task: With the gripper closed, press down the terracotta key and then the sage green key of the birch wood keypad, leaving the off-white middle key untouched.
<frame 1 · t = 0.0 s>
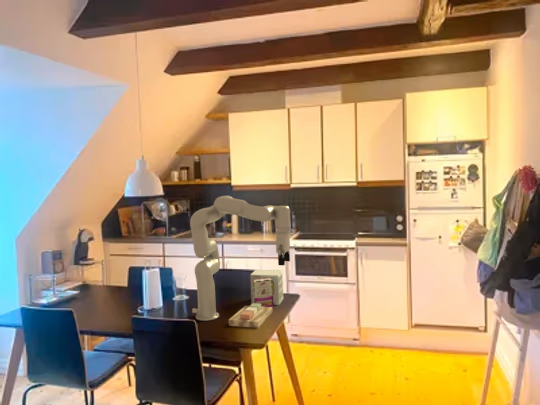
hand: (284, 263, 227), 31 cm above the table, tool pointing down, fingers open, 9 cm apart
candy bar box: (263, 307, 256), on the table
supplement box: (267, 302, 267), on the table
terracotta key: (246, 315, 231), point 4 cm above the table, slide at 0.0 cm
keypad base: (251, 318, 238), on the table
sage key: (255, 307, 244), point 4 cm above the table, slide at 0.0 cm
offwhite key: (251, 311, 237), point 4 cm above the table, slide at 0.0 cm
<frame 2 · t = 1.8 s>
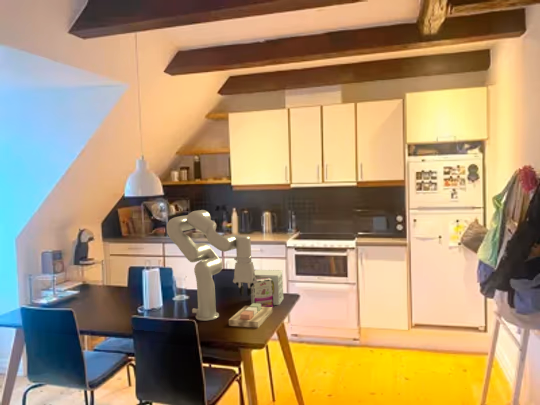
hand: (245, 294, 230), 15 cm above the table, tool pointing down, fingers open, 3 cm apart
nothing on the table moved.
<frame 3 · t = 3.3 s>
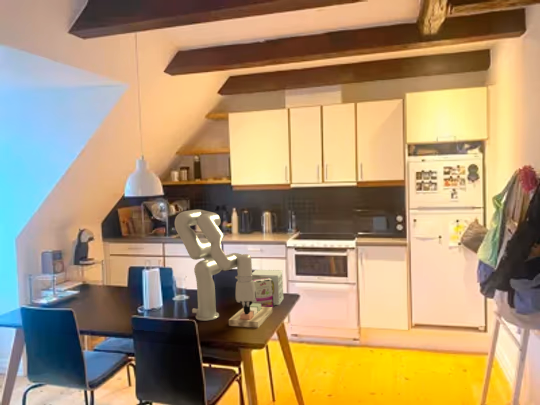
hand: (247, 313, 230), 5 cm above the table, tool pointing down, fingers closed
terracotta key: (246, 316, 231), point 4 cm above the table, slide at 0.2 cm, touching gripper
everything else where it was.
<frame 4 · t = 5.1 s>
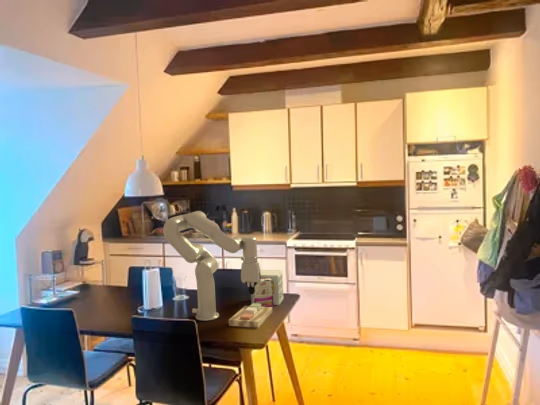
hand: (252, 293, 238), 13 cm above the table, tool pointing down, fingers closed
terracotta key: (246, 318, 231), point 3 cm above the table, slide at 1.2 cm
everything else where it was.
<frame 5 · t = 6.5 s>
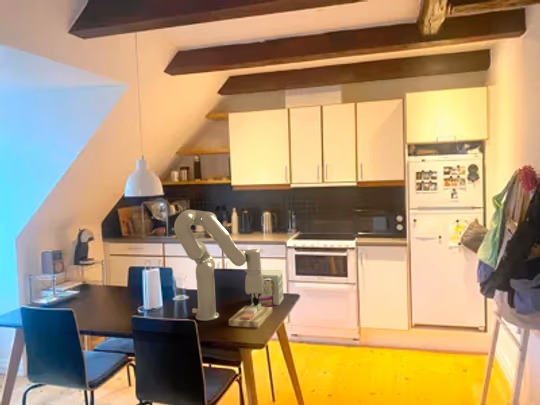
hand: (256, 304, 244), 5 cm above the table, tool pointing down, fingers closed
sage key: (255, 307, 244), point 4 cm above the table, slide at 0.1 cm, touching gripper
everything else where it was.
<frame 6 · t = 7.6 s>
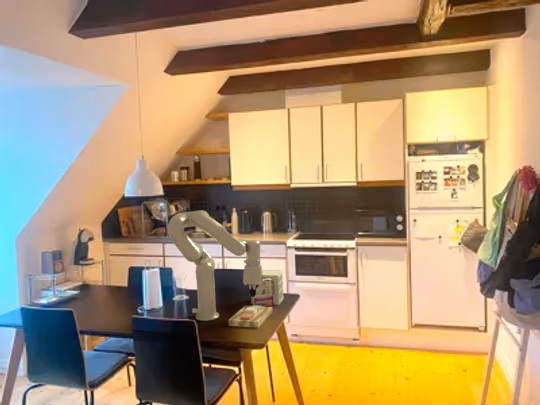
hand: (253, 295, 243), 11 cm above the table, tool pointing down, fingers closed
sage key: (255, 309, 244), point 3 cm above the table, slide at 1.2 cm
everything else where it was.
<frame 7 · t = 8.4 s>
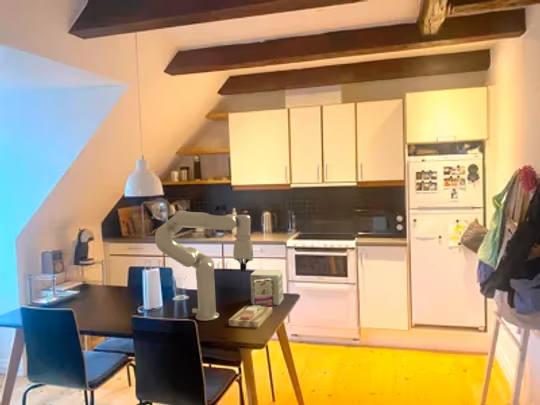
hand: (243, 270, 243), 25 cm above the table, tool pointing down, fingers closed
nothing on the table moved.
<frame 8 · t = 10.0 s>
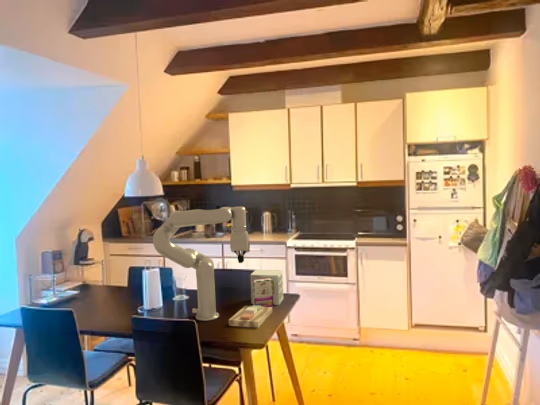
hand: (241, 262, 243), 29 cm above the table, tool pointing down, fingers closed
nothing on the table moved.
at the end: terracotta key slide at 1.2 cm; sage key slide at 1.2 cm; offwhite key slide at 0.0 cm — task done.
